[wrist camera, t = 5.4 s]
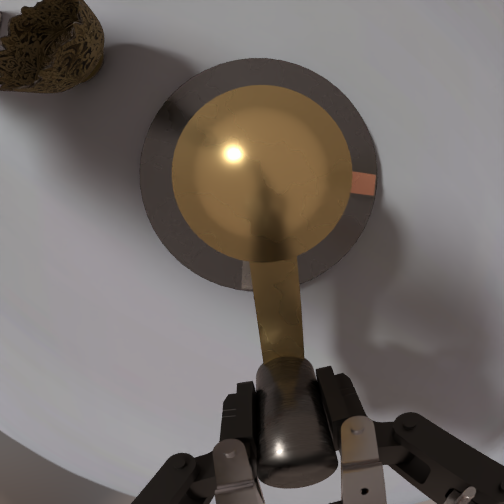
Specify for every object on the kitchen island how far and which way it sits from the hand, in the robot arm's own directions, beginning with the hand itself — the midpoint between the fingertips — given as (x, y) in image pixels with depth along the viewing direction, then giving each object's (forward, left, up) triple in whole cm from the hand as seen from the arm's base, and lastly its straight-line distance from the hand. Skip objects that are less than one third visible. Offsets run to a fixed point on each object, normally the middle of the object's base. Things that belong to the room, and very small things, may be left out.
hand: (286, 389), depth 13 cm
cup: (-16, +19, -9) cm, 26 cm away
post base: (-2, +10, -9) cm, 13 cm away
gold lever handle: (-1, +6, -3) cm, 6 cm away
